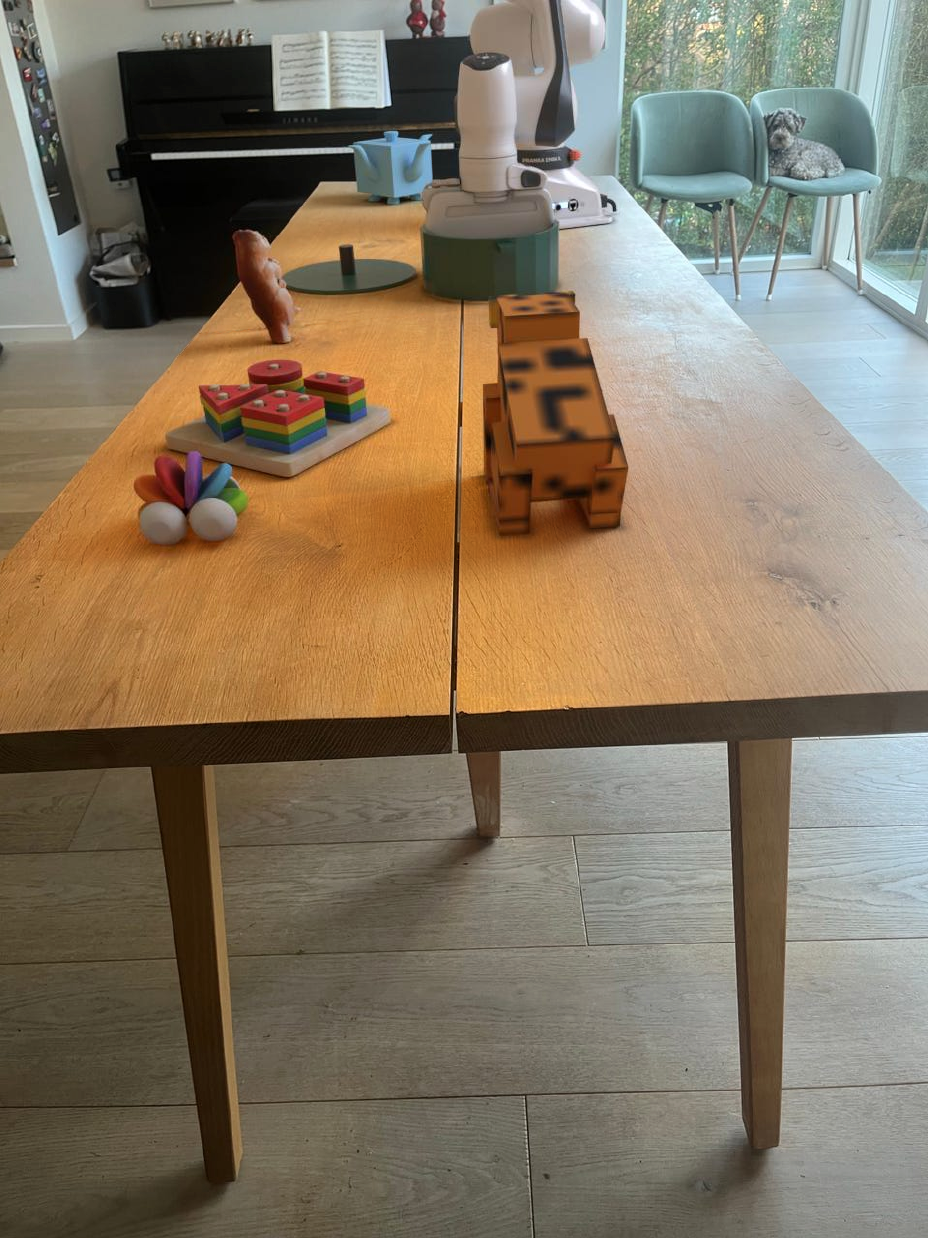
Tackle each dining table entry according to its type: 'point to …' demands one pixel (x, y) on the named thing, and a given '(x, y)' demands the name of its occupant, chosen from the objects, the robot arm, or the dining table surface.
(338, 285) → the tin lid
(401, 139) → the teakettle
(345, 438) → the shape sorter
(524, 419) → the toy animal
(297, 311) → the figurine
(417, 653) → the dining table surface
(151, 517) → the rainbow fan rolling toy
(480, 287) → the tin
